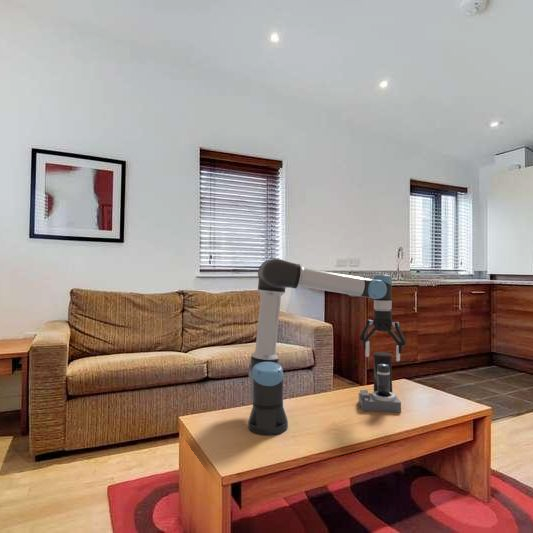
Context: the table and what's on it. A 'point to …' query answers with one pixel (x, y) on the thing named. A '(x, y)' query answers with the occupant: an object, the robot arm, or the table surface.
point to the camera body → (378, 402)
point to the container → (382, 359)
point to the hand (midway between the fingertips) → (382, 358)
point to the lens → (383, 380)
